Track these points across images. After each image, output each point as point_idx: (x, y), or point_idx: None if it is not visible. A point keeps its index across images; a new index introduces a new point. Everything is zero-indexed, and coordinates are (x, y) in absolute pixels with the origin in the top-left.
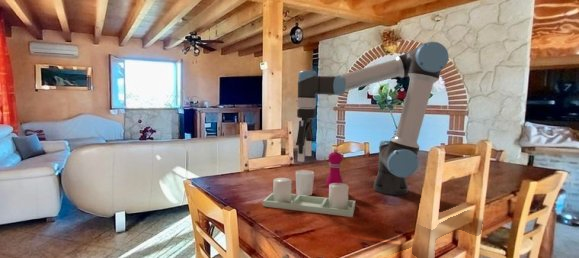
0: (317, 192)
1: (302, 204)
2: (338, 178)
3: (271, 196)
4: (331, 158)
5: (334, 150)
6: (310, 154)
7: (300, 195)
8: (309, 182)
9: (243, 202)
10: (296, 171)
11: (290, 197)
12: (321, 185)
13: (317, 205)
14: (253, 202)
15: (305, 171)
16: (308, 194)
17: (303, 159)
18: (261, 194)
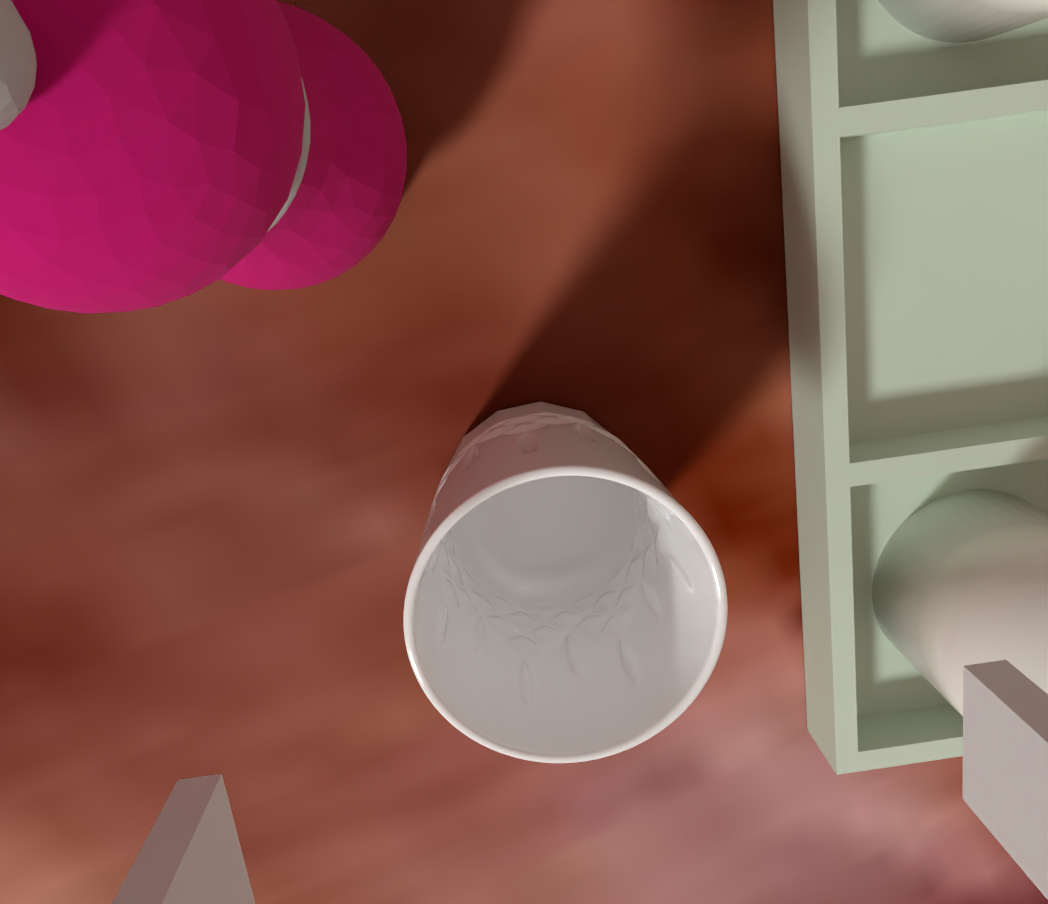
0: (358, 385)
1: (944, 369)
2: (303, 43)
3: (939, 730)
4: (290, 162)
5: (14, 76)
6: (215, 812)
7: (844, 458)
8: (637, 461)
9: (1004, 896)
10: (576, 755)
11: (1027, 514)
12: (16, 441)
13: (921, 199)
14: (975, 826)
15: (425, 652)
16: (603, 428)
17: (1037, 700)
18: (721, 879)
